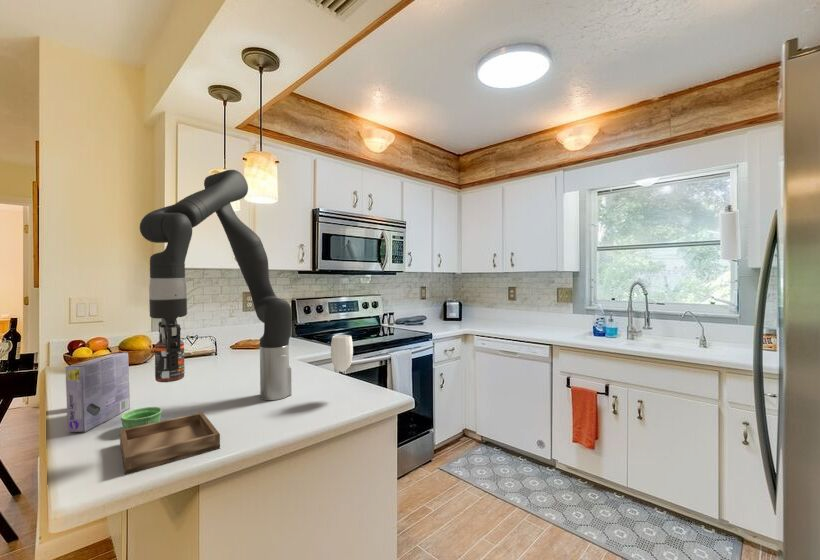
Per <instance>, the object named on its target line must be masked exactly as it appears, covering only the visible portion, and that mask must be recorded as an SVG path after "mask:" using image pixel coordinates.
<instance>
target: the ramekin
mask: <svg viewBox="0 0 820 560" xmlns="http://www.w3.org/2000/svg"><path fill="white" fill-rule="evenodd" d="M162 412H163V408H161V407H157V406H149V407H141V408H136V409H132V410H129V411H127V412H126V411H125V412H123V414H121V416H120V420H121V423H122V430H123V429H128V428H132V427H137V426H142V425H146V424H151V423H156V422H160V421H161V416H162Z"/></svg>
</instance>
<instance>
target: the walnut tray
mask: <svg viewBox="0 0 820 560" xmlns="http://www.w3.org/2000/svg"><path fill="white" fill-rule="evenodd" d="M119 443H120V444H119V446H120V450H121V456H122V457H121V458H122V464H123V468H124V469H123V470H124V474H125V476H126V475H129V474H133V473H137V472H140V471H143V470H144V471H145V470H147V469H151V468H152V469H153V468H154V467H159V466H161V465H166V464H170V463H173V462H176V461H180V460H183V459H188V458H191V457H194V456H198V455H201V454H204V453H208V452H213V451H216V450H220V449H221V433H220V432H219V431H218V430H217V428H216V427H215V425H213V423H212V422H211V421H210V419H209V418H208V416H206V415H205V414H204V412H198V413H194V414H189V415H184V416H180V417H179V416H178V417H174V418H170V419H165V420H162V421H161V420H160V422H156V423H151V424H146V425H142V426H137V427H132V428H128V429H123V428H122V429H120V430H119Z"/></svg>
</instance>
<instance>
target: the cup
mask: <svg viewBox="0 0 820 560" xmlns="http://www.w3.org/2000/svg"><path fill="white" fill-rule="evenodd" d="M330 342H331V344H330V357H331V363H332V365H333V367H334V369H336V370H337V371H338V372H341V373H343V372H346V371H347V370H348V368H350V367H351V364H352V361H353V355H354V346H353V345H354V343H353V338H352V335H349V334H336V335H333V336H332V337H331V341H330Z"/></svg>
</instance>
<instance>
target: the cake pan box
mask: <svg viewBox="0 0 820 560" xmlns="http://www.w3.org/2000/svg"><path fill="white" fill-rule="evenodd" d="M129 367H130V366H129V352H119V353H118V352H117V353H111V354H108V355H105V356H101V357H97V358H93V359H89V360H85V361H82V362H79V363H78V362H77V363H75V364H71V365H67V366H65V387H66V388H65V391H66V392H65V394H66V419H67V420H66V421H67V433H87V432H89V431H90V430H91V429H94V428H95V427H97V426H99V425H101V424H103V423H106V422H107V421H109V420H112V419H113V418H114V419H115V417H116V416H118V415H120V414H122V413H125V412H126V411H128V410H130V409H131V408H130V406H131V405H130V404H131V401H130V398H131V395H130V394H131V393H130V371H129V370H130V369H129Z"/></svg>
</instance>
